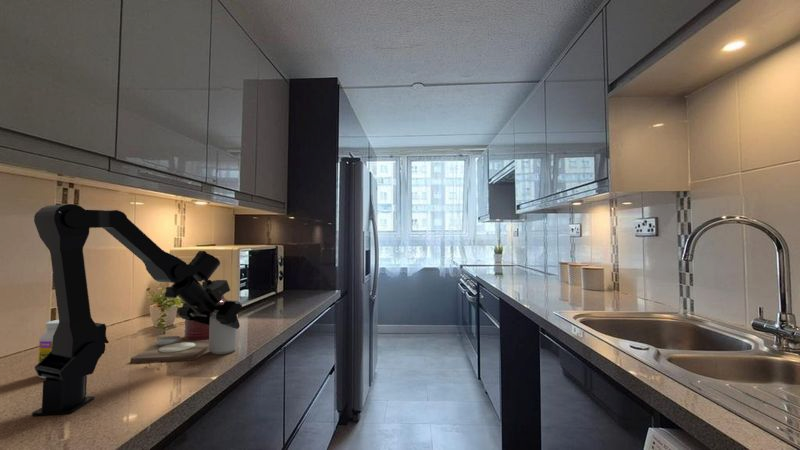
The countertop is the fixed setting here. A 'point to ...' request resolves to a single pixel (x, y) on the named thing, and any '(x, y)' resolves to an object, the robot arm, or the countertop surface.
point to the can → (221, 337)
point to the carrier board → (172, 350)
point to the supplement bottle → (47, 340)
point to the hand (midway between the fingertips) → (226, 326)
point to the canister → (198, 327)
